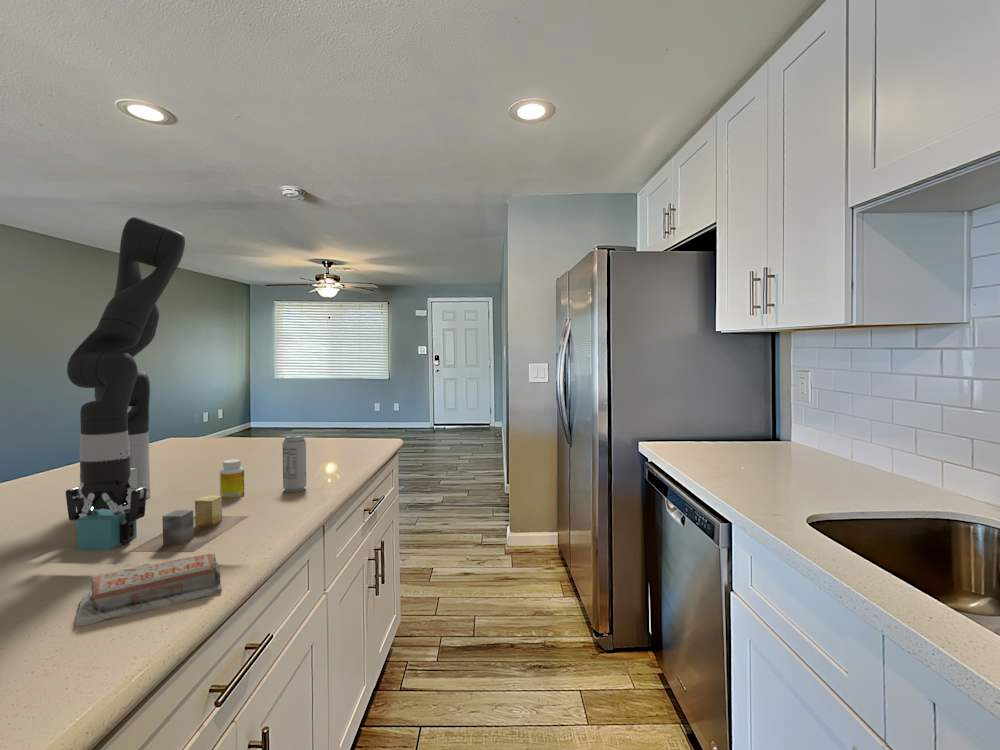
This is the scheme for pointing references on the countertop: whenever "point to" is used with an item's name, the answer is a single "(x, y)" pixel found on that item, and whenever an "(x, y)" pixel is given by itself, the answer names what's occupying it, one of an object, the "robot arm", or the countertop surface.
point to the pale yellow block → (208, 511)
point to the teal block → (99, 531)
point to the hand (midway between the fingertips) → (107, 541)
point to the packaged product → (149, 588)
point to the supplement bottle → (232, 479)
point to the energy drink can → (294, 463)
